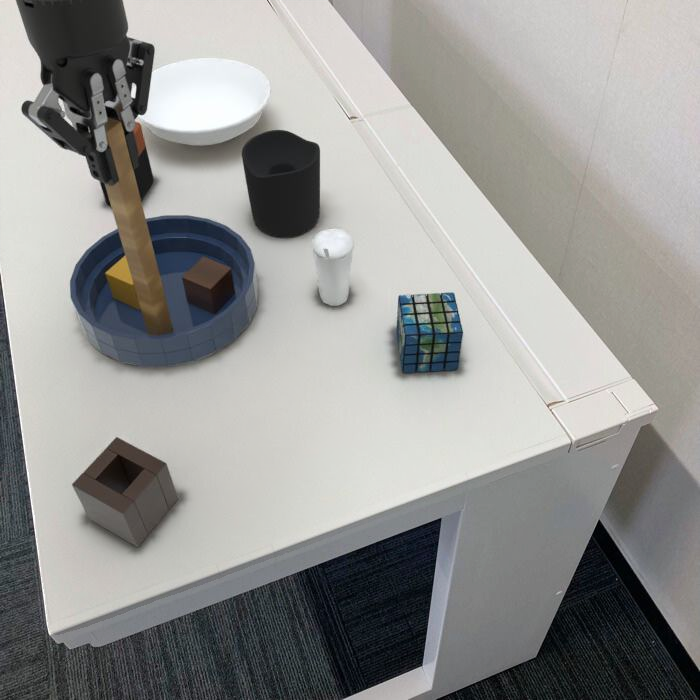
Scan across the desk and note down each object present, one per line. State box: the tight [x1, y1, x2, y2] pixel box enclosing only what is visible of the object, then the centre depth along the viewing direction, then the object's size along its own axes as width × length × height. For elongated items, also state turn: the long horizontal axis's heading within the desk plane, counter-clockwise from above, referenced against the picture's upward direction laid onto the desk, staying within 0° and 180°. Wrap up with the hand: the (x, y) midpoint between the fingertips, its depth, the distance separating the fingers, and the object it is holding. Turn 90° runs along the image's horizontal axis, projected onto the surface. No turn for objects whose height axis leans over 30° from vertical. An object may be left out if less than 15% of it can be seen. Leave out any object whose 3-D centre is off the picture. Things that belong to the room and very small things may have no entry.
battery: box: [99, 121, 155, 207], centre depth 100 cm, size 4×7×10 cm, turn 168°
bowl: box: [131, 57, 272, 147], centre depth 111 cm, size 20×20×6 cm
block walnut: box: [182, 257, 235, 314], centre depth 88 cm, size 4×4×4 cm
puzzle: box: [395, 291, 464, 374], centre depth 82 cm, size 6×6×6 cm
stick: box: [88, 117, 174, 335], centre depth 75 cm, size 2×2×26 cm
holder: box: [71, 436, 179, 548], centre depth 69 cm, size 6×6×6 cm
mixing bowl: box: [69, 214, 259, 368], centre depth 88 cm, size 20×20×5 cm
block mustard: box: [105, 256, 141, 310], centre depth 88 cm, size 4×4×4 cm
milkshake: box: [311, 227, 355, 307], centre depth 86 cm, size 5×5×10 cm
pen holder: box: [241, 129, 321, 238], centre depth 96 cm, size 9×9×10 cm
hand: (117, 173), depth 69 cm, fingers closed on stick, 2 cm apart
